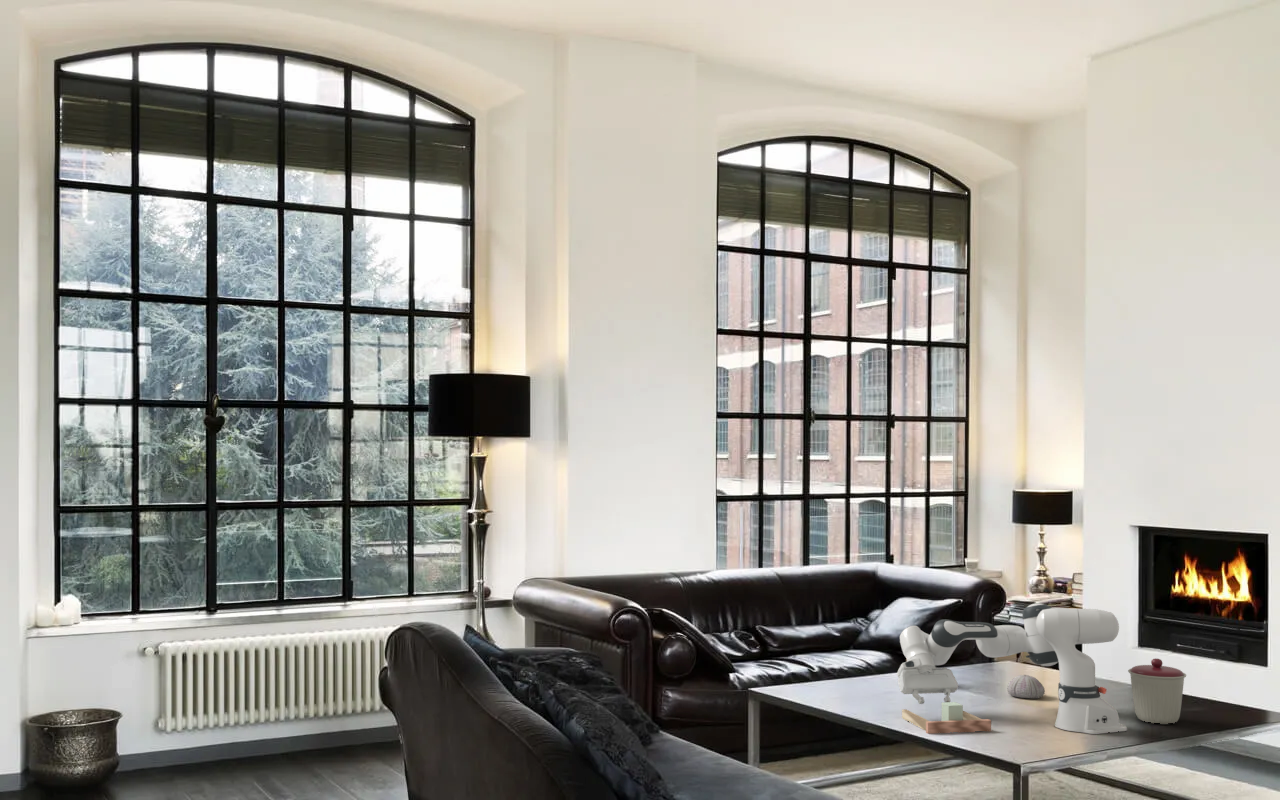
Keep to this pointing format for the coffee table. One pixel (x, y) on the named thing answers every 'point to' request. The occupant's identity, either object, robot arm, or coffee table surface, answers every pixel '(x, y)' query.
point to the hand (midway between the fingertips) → (935, 702)
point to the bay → (949, 723)
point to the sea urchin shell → (1025, 687)
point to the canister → (1157, 692)
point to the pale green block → (952, 711)
